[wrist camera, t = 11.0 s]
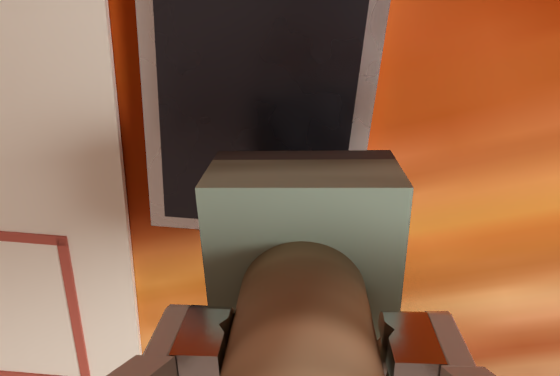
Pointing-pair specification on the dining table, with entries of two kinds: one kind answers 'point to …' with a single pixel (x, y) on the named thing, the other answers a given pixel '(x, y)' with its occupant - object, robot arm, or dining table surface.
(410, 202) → the stamp
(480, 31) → the dining table surface
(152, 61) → the ink pad
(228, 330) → the robot arm
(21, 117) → the paper sheet
